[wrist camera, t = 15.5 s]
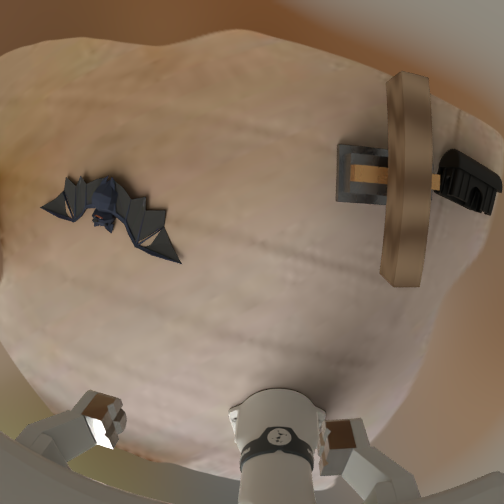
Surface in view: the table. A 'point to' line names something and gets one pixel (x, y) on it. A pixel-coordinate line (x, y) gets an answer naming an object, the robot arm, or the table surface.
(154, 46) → the table surface
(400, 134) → the walnut beam
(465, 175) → the end cap
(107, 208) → the decorative bat
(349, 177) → the fulcrum stand
